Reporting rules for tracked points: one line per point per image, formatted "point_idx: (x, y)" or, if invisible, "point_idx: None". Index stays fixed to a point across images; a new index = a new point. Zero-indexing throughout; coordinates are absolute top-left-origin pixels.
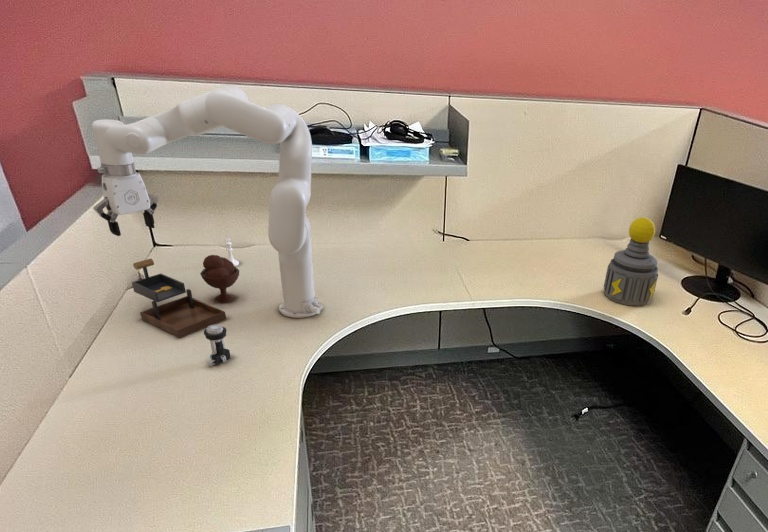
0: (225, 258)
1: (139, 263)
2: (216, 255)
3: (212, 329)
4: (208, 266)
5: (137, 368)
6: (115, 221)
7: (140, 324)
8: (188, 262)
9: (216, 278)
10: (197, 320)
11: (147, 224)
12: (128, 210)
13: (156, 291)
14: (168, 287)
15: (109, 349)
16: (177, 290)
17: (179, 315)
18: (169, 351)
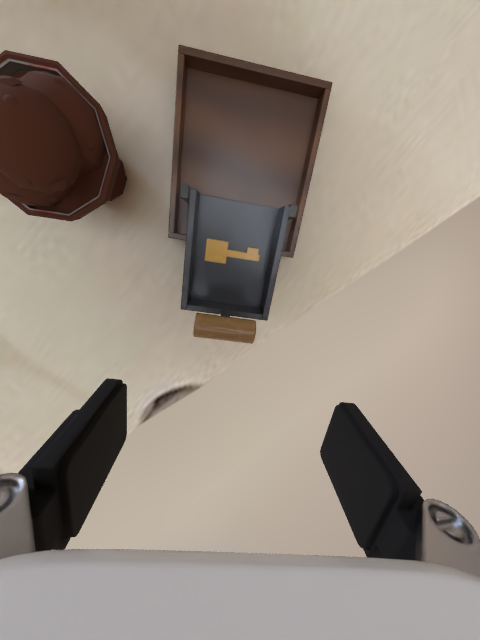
0: None
1: (243, 327)
2: None
3: None
4: (67, 133)
5: (472, 62)
6: (399, 506)
7: (304, 241)
8: (36, 403)
9: (92, 98)
10: (237, 124)
11: (120, 430)
12: (387, 630)
13: (247, 252)
14: (211, 247)
15: (413, 201)
16: (205, 216)
17: (239, 191)
18: (385, 59)
